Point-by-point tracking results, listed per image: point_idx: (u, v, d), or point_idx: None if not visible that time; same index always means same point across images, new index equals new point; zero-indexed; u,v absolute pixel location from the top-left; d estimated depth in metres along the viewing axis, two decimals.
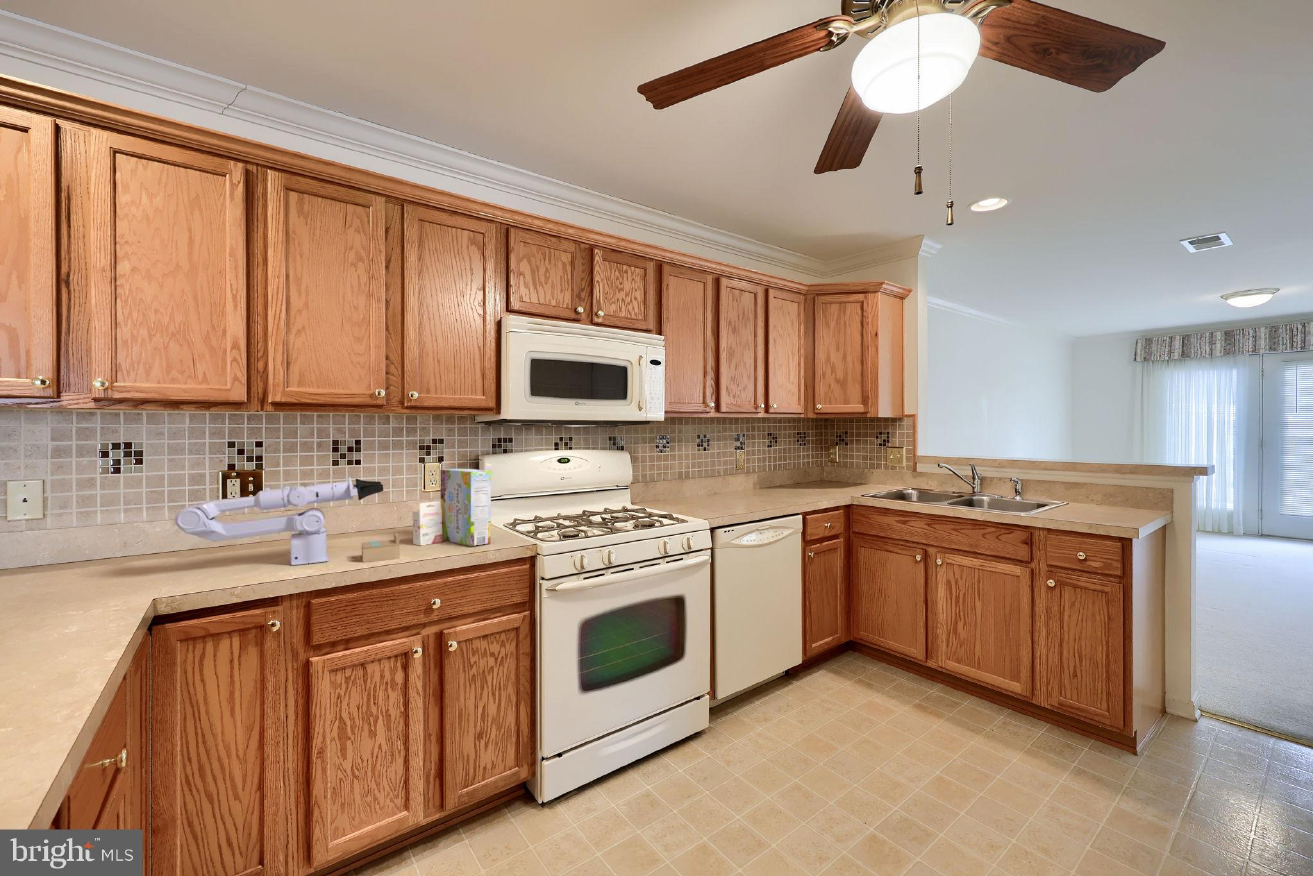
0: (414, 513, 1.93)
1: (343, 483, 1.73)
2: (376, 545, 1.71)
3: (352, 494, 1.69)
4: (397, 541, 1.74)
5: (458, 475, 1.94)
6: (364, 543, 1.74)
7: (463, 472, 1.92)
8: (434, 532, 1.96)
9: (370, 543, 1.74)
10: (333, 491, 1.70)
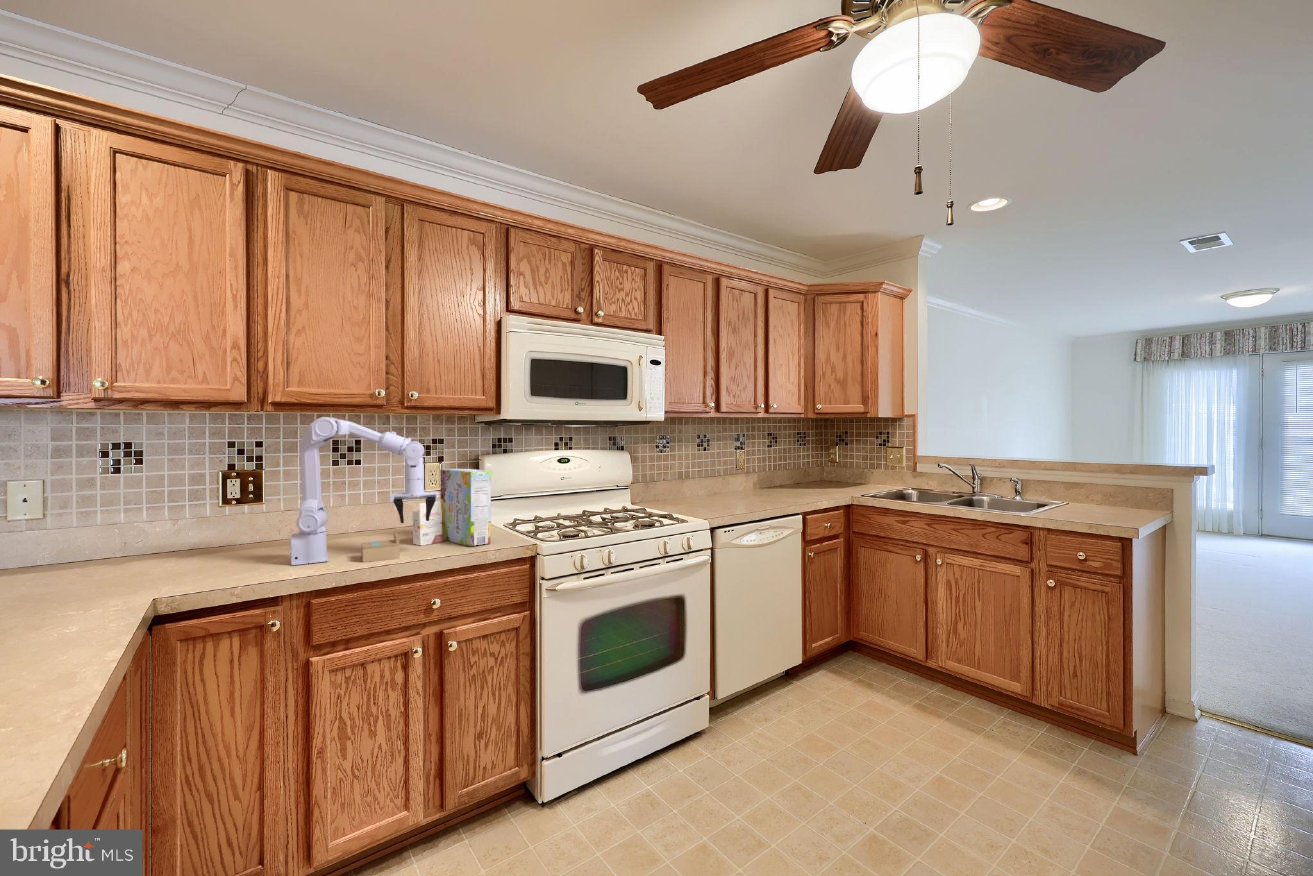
0: (414, 513, 1.93)
1: (410, 489, 1.76)
2: (376, 545, 1.71)
3: (389, 495, 1.76)
4: (397, 541, 1.74)
5: (458, 475, 1.94)
6: (364, 543, 1.74)
7: (463, 472, 1.92)
8: (434, 532, 1.96)
9: (370, 543, 1.74)
10: (405, 479, 1.77)
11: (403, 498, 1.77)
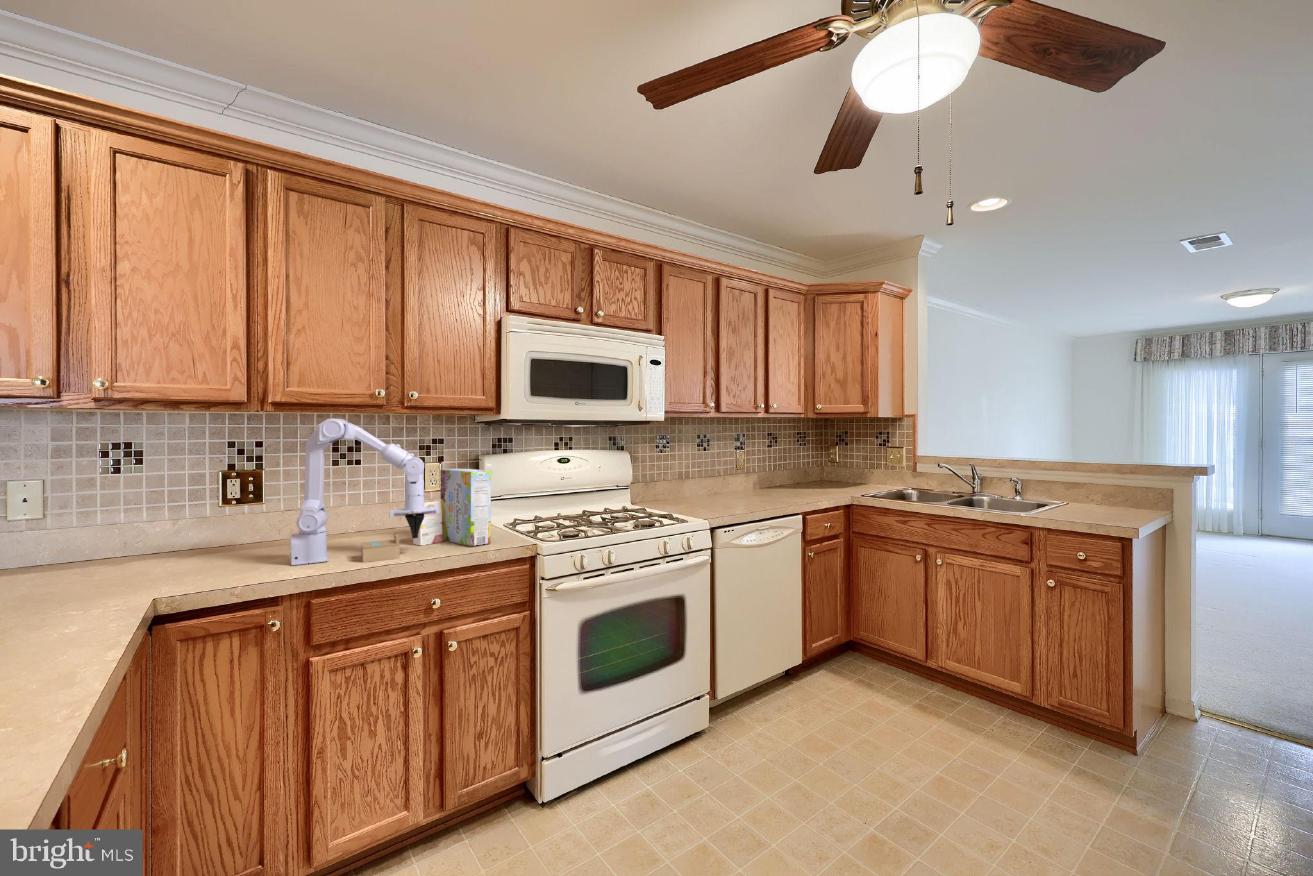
0: None
1: (410, 505, 1.76)
2: (376, 545, 1.71)
3: (389, 512, 1.76)
4: (397, 541, 1.74)
5: (458, 475, 1.94)
6: (364, 543, 1.74)
7: (463, 472, 1.92)
8: (434, 532, 1.96)
9: (370, 543, 1.74)
10: (405, 496, 1.77)
11: (403, 514, 1.77)
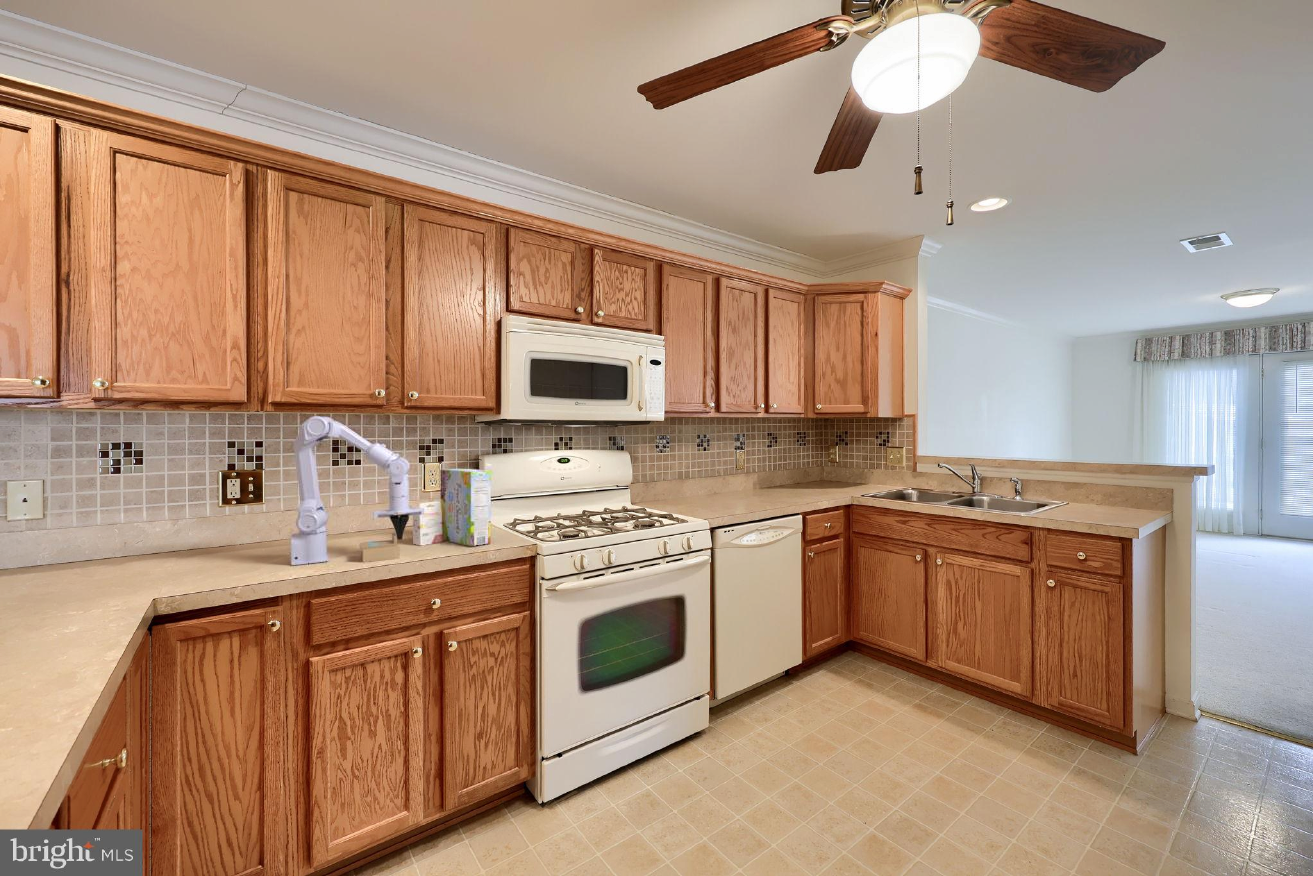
0: None
1: (395, 506, 1.74)
2: (374, 545, 1.71)
3: (373, 513, 1.74)
4: (395, 541, 1.74)
5: (458, 475, 1.94)
6: (362, 543, 1.74)
7: (463, 472, 1.92)
8: (434, 532, 1.96)
9: (368, 543, 1.74)
10: (389, 497, 1.75)
11: (387, 515, 1.75)
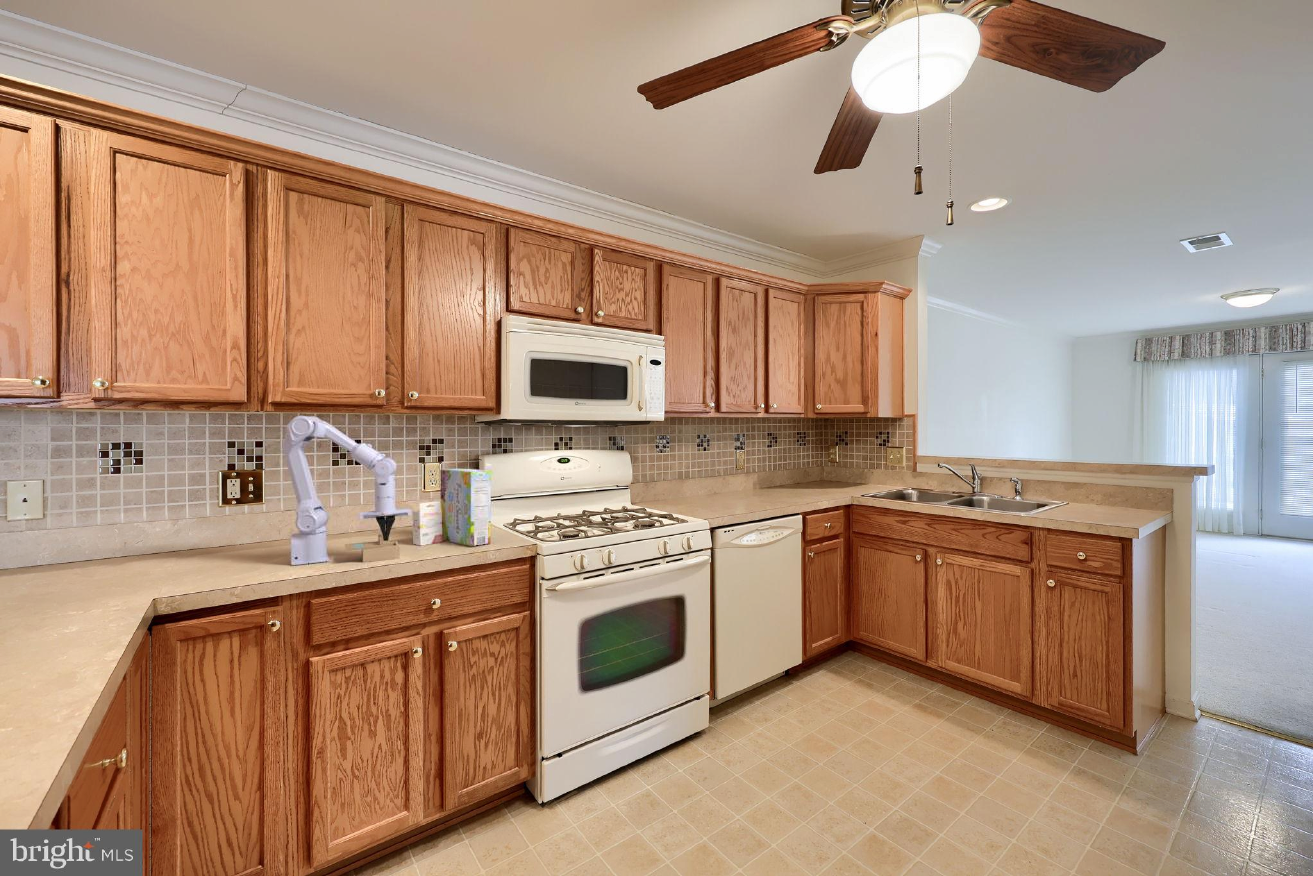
0: (414, 513, 1.93)
1: (380, 507, 1.72)
2: (359, 547, 1.69)
3: None
4: (381, 543, 1.72)
5: (458, 475, 1.94)
6: (347, 545, 1.72)
7: (463, 472, 1.92)
8: (434, 532, 1.96)
9: (353, 545, 1.72)
10: (375, 497, 1.73)
11: (373, 516, 1.73)
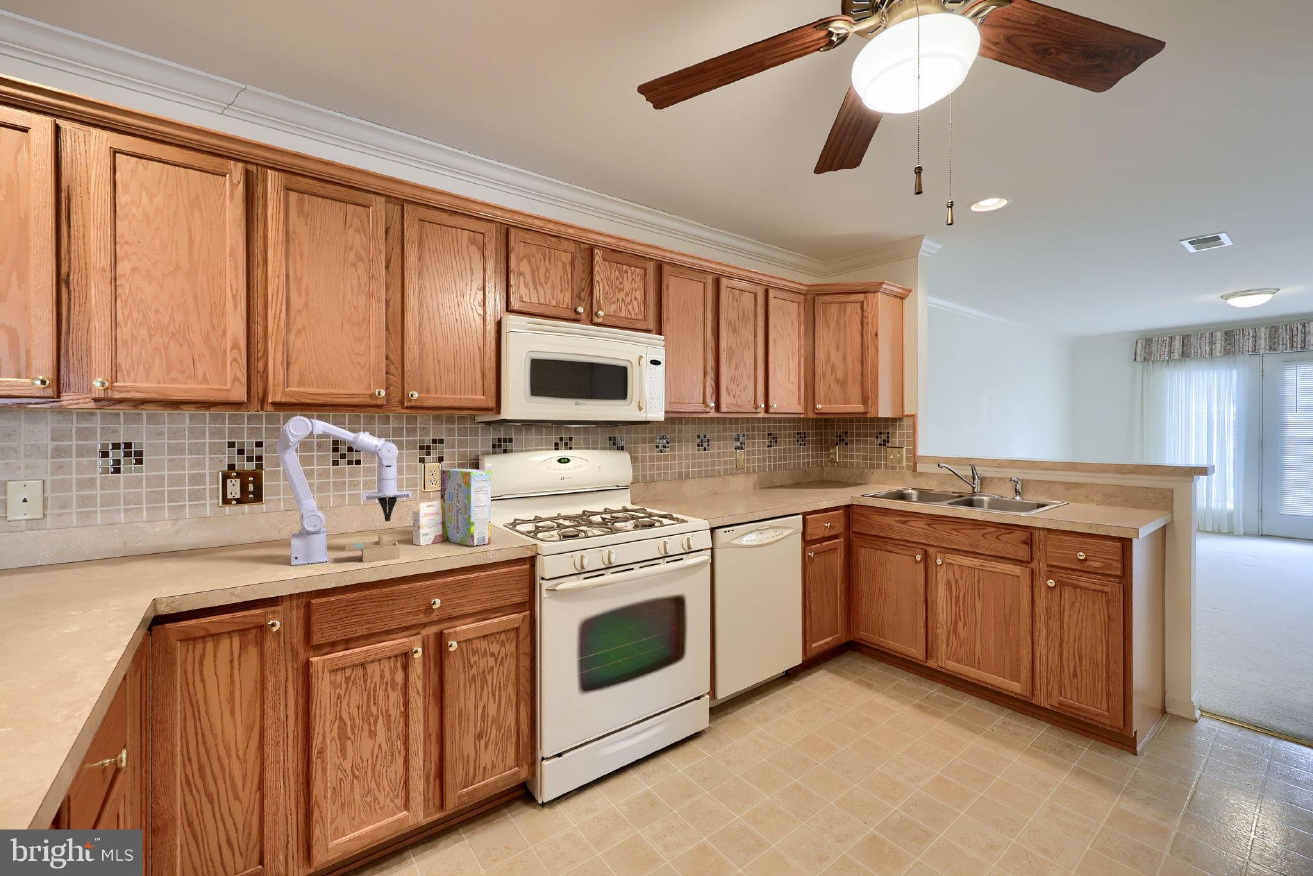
0: (414, 513, 1.93)
1: (382, 488, 1.79)
2: (359, 547, 1.69)
3: None
4: (381, 543, 1.72)
5: (458, 475, 1.94)
6: (347, 545, 1.72)
7: (463, 472, 1.92)
8: (434, 532, 1.96)
9: (353, 545, 1.72)
10: (377, 479, 1.80)
11: (376, 497, 1.79)
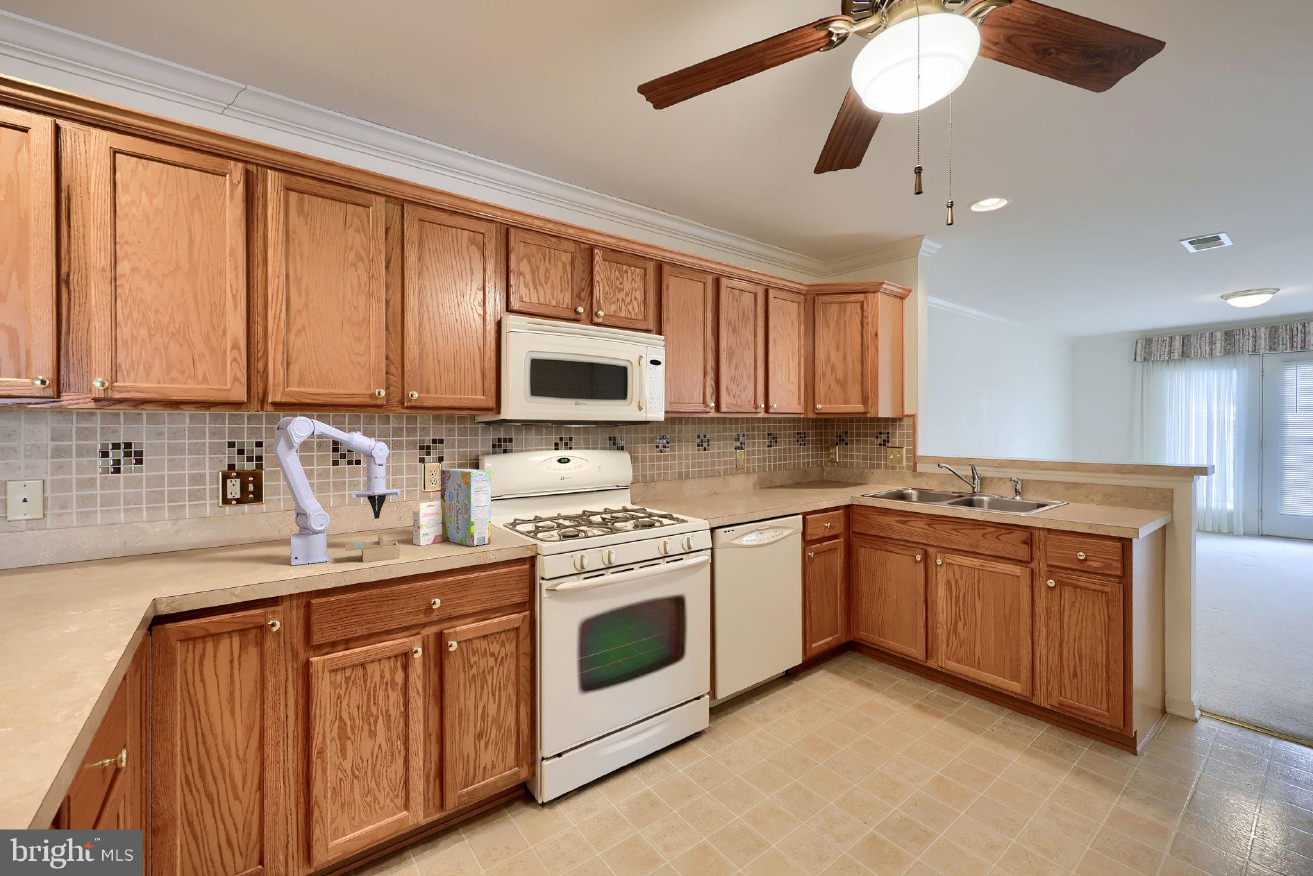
0: (414, 513, 1.93)
1: (372, 487, 1.83)
2: (359, 547, 1.69)
3: None
4: (381, 543, 1.72)
5: (458, 475, 1.94)
6: (347, 545, 1.72)
7: (463, 472, 1.92)
8: (434, 532, 1.96)
9: (353, 545, 1.72)
10: (367, 478, 1.84)
11: (365, 495, 1.84)
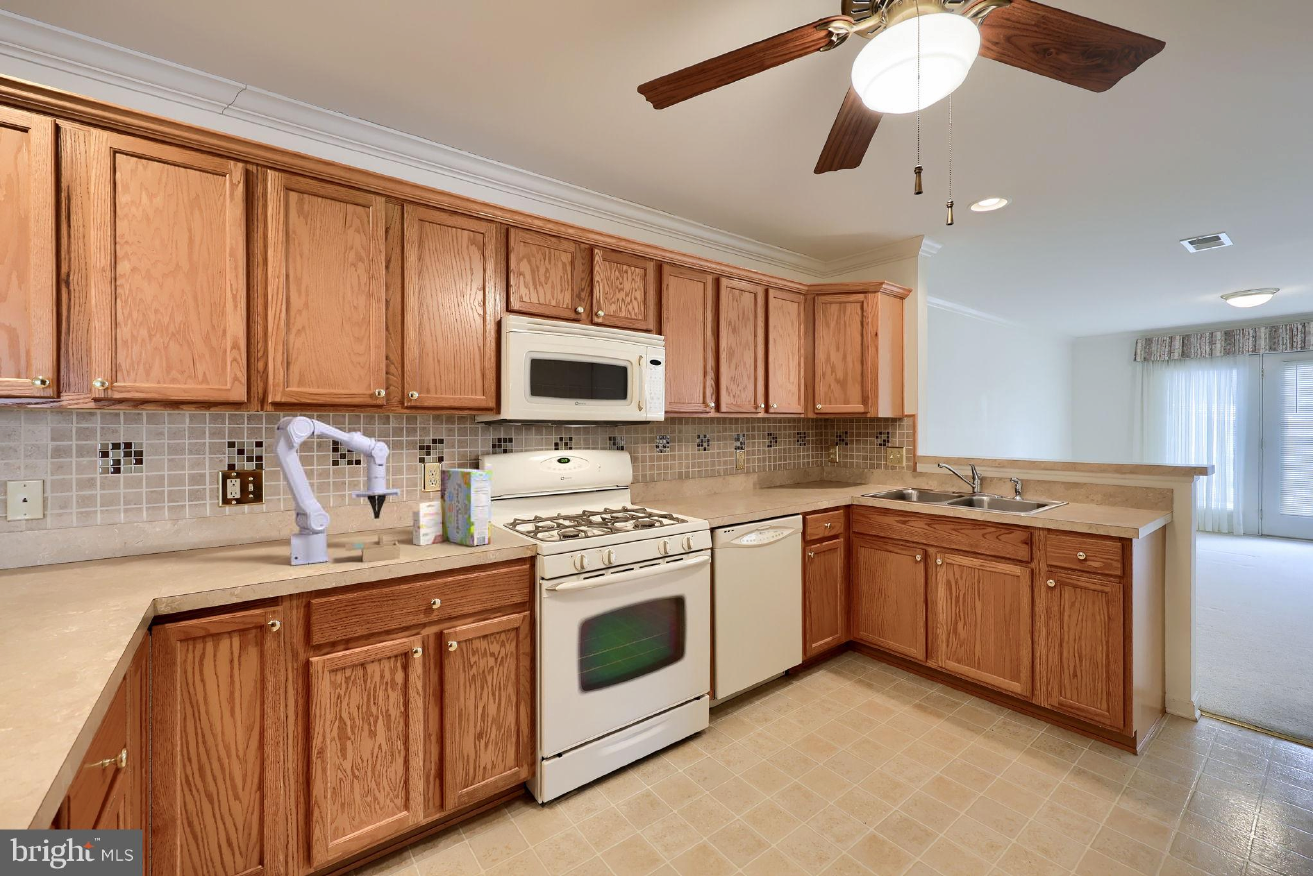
0: (414, 513, 1.93)
1: (372, 487, 1.83)
2: (359, 547, 1.69)
3: None
4: (381, 543, 1.72)
5: (458, 475, 1.94)
6: (347, 545, 1.72)
7: (463, 472, 1.92)
8: (434, 532, 1.96)
9: (353, 545, 1.72)
10: (367, 478, 1.84)
11: (365, 495, 1.84)
